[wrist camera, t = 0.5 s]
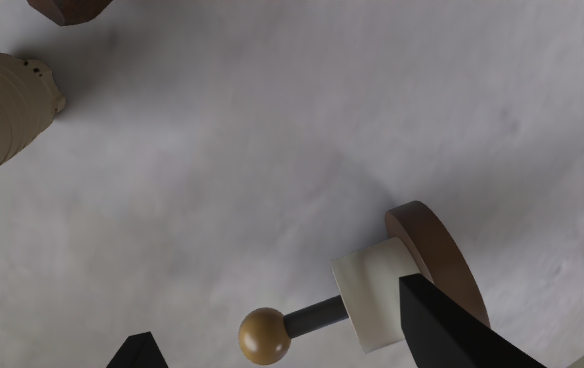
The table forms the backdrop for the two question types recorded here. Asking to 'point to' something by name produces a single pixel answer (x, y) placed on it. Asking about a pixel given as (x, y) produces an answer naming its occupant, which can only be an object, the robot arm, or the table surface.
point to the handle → (25, 103)
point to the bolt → (70, 10)
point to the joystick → (372, 288)
